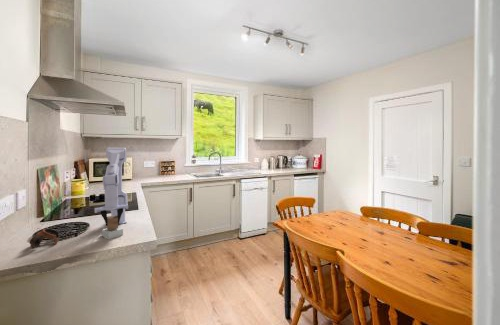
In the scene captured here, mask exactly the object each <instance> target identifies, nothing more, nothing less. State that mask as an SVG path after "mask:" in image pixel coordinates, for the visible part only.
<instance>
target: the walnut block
mask: <svg viewBox="0 0 500 325" xmlns="http://www.w3.org/2000/svg"><path fill="white" fill-rule="evenodd" d="M118 227H119V224H118V217H117V215H115V216H111V215H110V216H108V215H107V226H106V228H107V229H108V230H111V229H117V228H118Z"/></svg>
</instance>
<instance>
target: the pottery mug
mask: <svg viewBox="0 0 500 325" xmlns="http://www.w3.org/2000/svg"><path fill="white" fill-rule="evenodd" d="M60 236H61V233H60V232H59V231H57V230H56V229H53V228H43V229H42V230H41V231H39V232H37V233H35V235H34V236H33V237H31V239H30V240H29V244H30V248H31V249H35V248H39V247H40V245H41V243H42V241H43V240H44V238H45V239H50V240H53V245H57V244H58V242H59V241H60Z"/></svg>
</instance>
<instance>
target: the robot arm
mask: <svg viewBox="0 0 500 325" xmlns="http://www.w3.org/2000/svg"><path fill="white" fill-rule="evenodd" d="M127 153H128V151H127V148H126V147H109V146H108V147H107V148H106V150H105V154H106V155H105V156H106V158H107V160H108V162H109V164H108V165H107V166H106V170H105V174H104V175H102V185H103V190H104V206H100V207H94V213H95V214H97V213H100V215H101V217H102V218H103V219H104V223H105V226H106V227H107V217H108V215H107V214H108V213H107V212H110V216H115V215H117V217H118V225H121V224H127V223H128V222H127V219H126V210H129V204H128V193H127V192H126V191H124V190H123V165H124V163H126V162H127Z"/></svg>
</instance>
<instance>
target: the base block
mask: <svg viewBox="0 0 500 325" xmlns="http://www.w3.org/2000/svg"><path fill="white" fill-rule="evenodd" d="M101 234H102V237H103V238H105V239H107V240H111V239H115V238H117V237H121V236H123V235H124V228H122V227H120V226H118V228H117V229H111V230H108V229H107V227H106V228H103V229H102V230H101Z"/></svg>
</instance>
